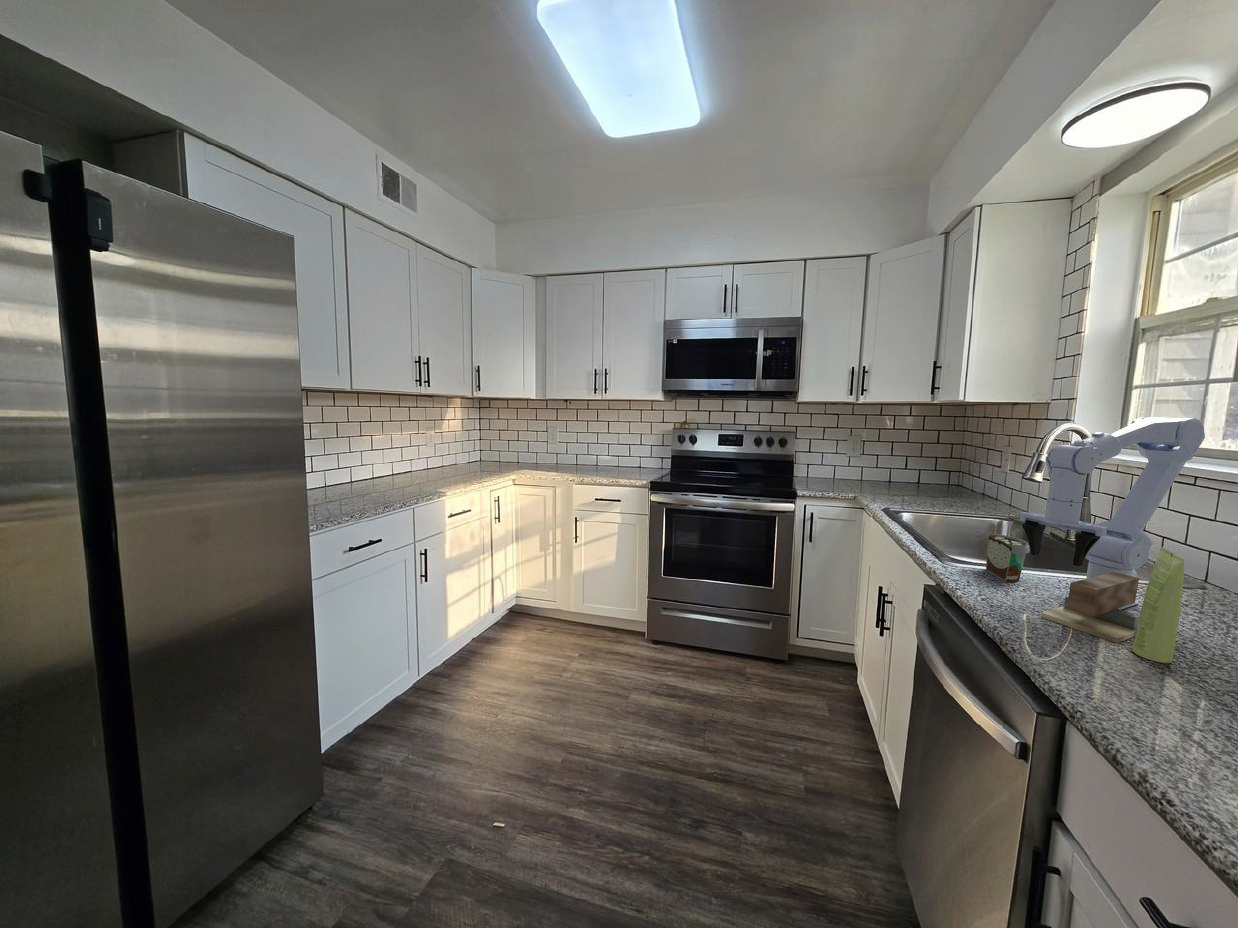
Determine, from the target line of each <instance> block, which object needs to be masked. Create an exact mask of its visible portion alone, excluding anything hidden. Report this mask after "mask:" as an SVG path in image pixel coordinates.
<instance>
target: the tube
mask: <svg viewBox="0 0 1238 928" xmlns="http://www.w3.org/2000/svg"><path fill="white" fill-rule="evenodd" d="M1184 562H1185V558H1184V557H1182V556H1180V555H1179V554H1175V553H1174V552H1172V551H1170V550H1168V549H1167V548H1165V547H1163V546H1161V547H1160V551H1159V552H1158V554H1157V557H1156V559H1155V563H1154V565H1153V568H1152V571H1151V574H1150V578H1149V580H1148V584H1147V587H1146V591H1145V595H1144V597H1143V601H1142V604H1141V605H1142V606H1141V609H1140V613H1139V615H1140V616H1139V620H1138V624H1137V629H1136V633H1135V636H1134V637H1133V638H1134V639H1133V642H1132V647H1131V651H1132V652H1133V653H1135V654H1136V655H1137V656H1140V658H1143V659H1146V660H1149V661H1152V662H1157V663H1161V664H1162V663H1163V664H1169V663H1172V662H1173V658H1174V654H1175V647H1176V642H1177V641H1176V640H1177V636H1178V629H1179V623H1180V615H1181V609H1182V608H1181V607H1182V599H1183V590H1184V579H1185V577H1184V576H1185V563H1184Z"/></svg>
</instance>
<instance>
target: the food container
mask: <svg viewBox="0 0 1238 928" xmlns="http://www.w3.org/2000/svg"><path fill="white" fill-rule="evenodd" d="M986 541H987V545H986V546H987V549H986V564H985V570H986V571H987V572H989V573H990V574H992V575H994V576H995V577H996V578H998V579H1000V580H1002V581H1003V582H1005V583H1017V582H1019V581H1020V579H1021V575H1022V571H1023V566H1024V563H1025V559H1026V554H1029V553H1031V550H1030V544H1029V541H1026V540H1025V539H1020V538H1018V537H1015V536H1010V535H1005V534H998V533H987V537H986Z"/></svg>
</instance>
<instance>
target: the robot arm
mask: <svg viewBox="0 0 1238 928" xmlns="http://www.w3.org/2000/svg"><path fill="white" fill-rule="evenodd" d="M1205 439H1206V433H1205V427H1204V425H1203V423H1202V421H1200V419H1198V418H1195V417H1189V418H1179V417H1175V418H1174V417H1173V418H1172V417H1150V416H1140V417H1139V418H1135V419H1132V421H1131V422H1130V425H1127V426H1125V427H1123V428H1121V429H1119V430H1117V431H1115V432H1113V433H1107V432H1101V431H1096V432H1095V431H1094V432H1093V433H1092V434H1091V436H1089V437H1087V438H1084V439H1077V440H1075V441H1073V443H1071V444H1069V445H1067V444H1065V445H1064V444H1059V445H1057V446H1054V447H1053V448H1051V449H1050V450H1049V451H1048V453H1047V456H1045V464H1046V467H1047V468H1048V471H1047V475H1048V477H1049V478H1050V480H1049V483H1048V484H1049V486H1048V493H1047V498H1046V506H1045V510H1044V512H1045V513H1044V514H1040V513H1034V512H1028V511H1024V512H1020V517H1019V521H1021V522H1024V523H1022V529H1023V530H1024V533H1025V535H1026V537H1027V540H1028V545H1029V549H1030V555H1032V556H1037V555H1040V552H1041V547H1042V539H1043V535H1044V532H1045V528H1046V527H1047V526H1049V527H1052V528H1053V527H1054V528H1059V529H1063V530H1067V531H1068V530H1069V531H1074V532H1078V533H1075V534H1074V538H1075V541H1074V542H1075V548H1074V549H1075V550H1074V555H1073V560H1072V565H1073V566H1076V567H1079V566H1082V565H1083V561H1084V560H1088V564H1087V565H1088V566H1087V570H1086V571H1087V572H1086V578H1085V579H1088V578H1092V577H1096V576H1100V575H1104V574H1108V573H1111V572H1116V573H1120V574H1124V575H1128V576H1132V577H1136V578H1138V573H1137V572H1136V570H1138V569H1139V568H1141V567H1142V566H1143V565H1145V563H1147V561H1148V559H1149V555H1150V550H1151V547H1152V545H1153V540H1152V539H1151V537H1149V535H1148V534H1147V533H1146V531H1144V529H1145V528H1146V527H1147V525H1148V523H1149V521H1150V520H1151V518H1152V517H1153V515H1154V514H1155V512H1156V511H1157V509H1158V508H1159V506H1160V504H1161V503H1162V501H1163V500H1164V497H1166V495H1167V493H1168V491H1169V490H1170V489H1171V487H1172V485H1173V484H1174V482H1175V480H1177V477H1178V475H1179V474H1180V473H1181V471H1182V470H1183V468H1184V466H1185V465H1186V463H1187V462H1188V461H1192V459H1193V458H1194V456H1195V454H1196V453H1197V451H1198V449H1200V446H1201V445H1202V443H1203V442H1204V440H1205ZM1132 445H1135V447H1136V449H1137V451H1138V453H1139V454H1140V456H1141V457H1144V458H1146V459H1147V463H1146V465H1145V467H1144V468H1143V470H1142V472H1140V474H1139V476H1138V478H1137V479H1136V481H1135V482H1134V484H1133V485H1132V487H1131V489H1130V491H1129V492H1128V494H1127V495H1126V496H1125V497H1124V500H1123V501H1122V503H1121V505H1120V506H1119V508H1118V509H1117V510H1116V512H1115V514H1114V516H1113V517H1112V519H1109V520H1106V521H1102V522H1098V523H1096V524H1095V523H1090V522H1085V521H1081V520H1080V519H1081V513H1082V506H1083V501H1084V495H1085V488H1086V484H1087V483H1086V482H1087V475H1088V474H1091V473H1092V472H1093V471H1094V470H1095V469H1096V467H1097V466H1098V465H1100V464H1101V463H1102V462H1105V461H1108V460H1109V459H1112V458H1115V457H1117V456H1119V455H1120V453H1121V451H1122V449H1125V448H1126V447H1130V446H1132ZM1139 604H1140V601H1137V600H1135V603H1134V604H1131V605H1128V606H1125V607H1121V608H1118V609H1120V610H1124V609H1128V608H1130V607H1133V606H1136V605H1139Z"/></svg>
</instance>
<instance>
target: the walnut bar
mask: <svg viewBox="0 0 1238 928" xmlns="http://www.w3.org/2000/svg"><path fill="white" fill-rule="evenodd" d="M1139 581H1140V578H1139V577H1137V578H1136V577H1132V576H1128V575H1124V574H1120V573H1116V572H1111V573H1108V574H1104V575H1100V576H1096V577H1092V578H1088V579H1086V578H1084V579H1082V580H1075V581H1072V582H1070V585H1069V592H1068V596H1069V597H1068V604H1067V609H1069V610H1072V611H1075V612H1078V613H1082V614H1085V615H1088V616H1091V617H1093V616H1097V615H1100V614H1103V613H1106V612H1109V611H1112V610H1115V609H1118V608H1121V607H1125V606H1128V605H1131V604H1134V603H1135V601H1136V599H1137V598H1136V597H1137V592H1138V588H1139Z"/></svg>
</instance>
